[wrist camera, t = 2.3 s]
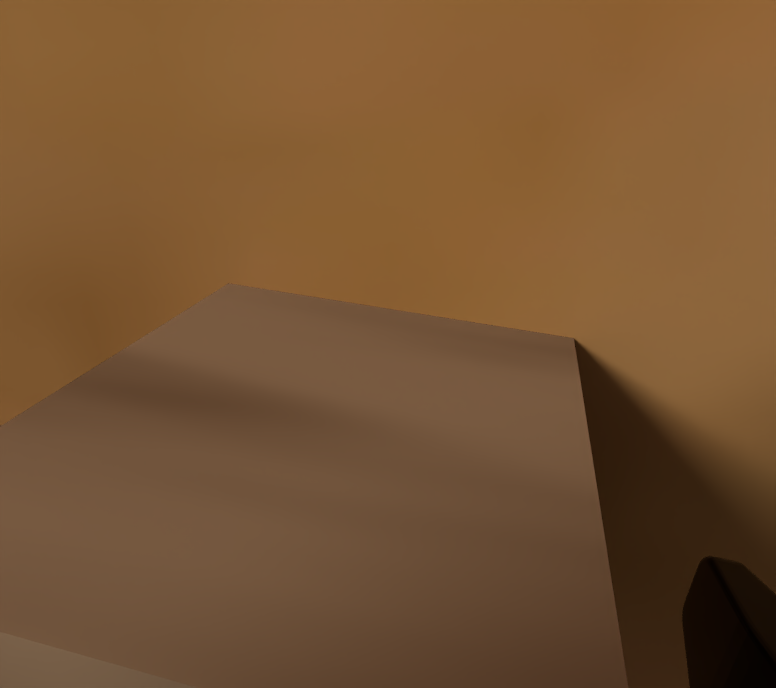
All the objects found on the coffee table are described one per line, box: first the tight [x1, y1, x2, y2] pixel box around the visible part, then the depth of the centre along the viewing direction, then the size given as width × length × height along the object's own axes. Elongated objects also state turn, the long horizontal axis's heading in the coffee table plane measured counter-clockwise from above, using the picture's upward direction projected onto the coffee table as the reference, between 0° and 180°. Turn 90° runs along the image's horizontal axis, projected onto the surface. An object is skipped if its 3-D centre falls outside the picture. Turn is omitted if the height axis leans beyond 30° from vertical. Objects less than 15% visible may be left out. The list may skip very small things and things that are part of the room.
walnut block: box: [0, 283, 628, 688], centre depth 7 cm, size 5×5×6 cm
